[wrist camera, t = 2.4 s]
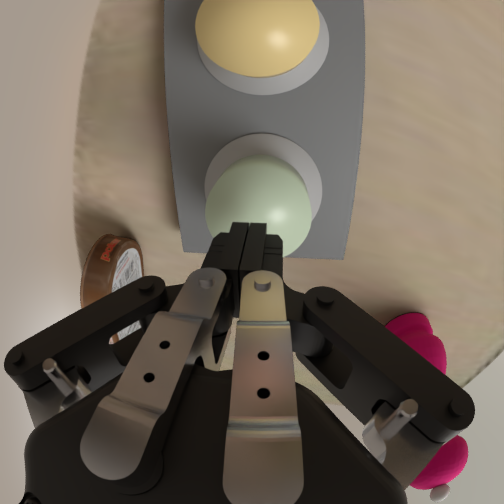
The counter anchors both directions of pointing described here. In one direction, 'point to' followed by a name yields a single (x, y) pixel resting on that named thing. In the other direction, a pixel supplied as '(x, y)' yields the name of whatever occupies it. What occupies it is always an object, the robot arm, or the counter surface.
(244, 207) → the sage button
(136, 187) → the counter surface
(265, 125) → the button panel
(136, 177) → the counter surface
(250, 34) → the ochre button
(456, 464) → the pepper mill
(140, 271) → the tin
